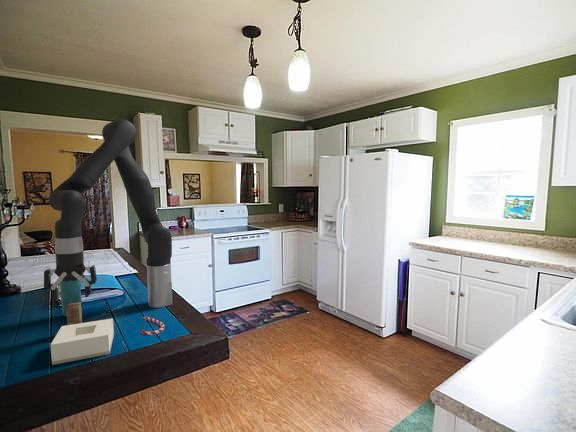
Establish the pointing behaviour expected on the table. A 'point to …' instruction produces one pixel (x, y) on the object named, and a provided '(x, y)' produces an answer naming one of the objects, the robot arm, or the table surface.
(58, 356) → the socket block
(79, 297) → the beverage bottle
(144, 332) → the candy cane
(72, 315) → the peg
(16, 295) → the table surface
